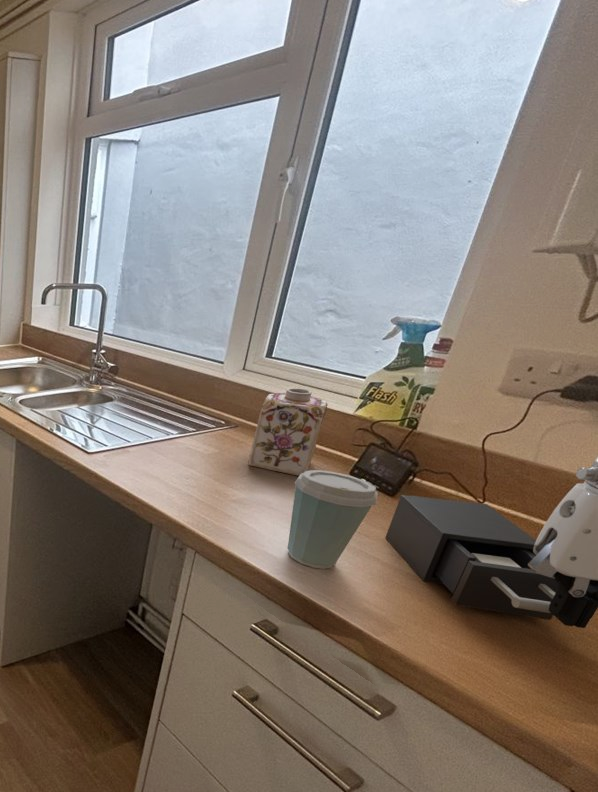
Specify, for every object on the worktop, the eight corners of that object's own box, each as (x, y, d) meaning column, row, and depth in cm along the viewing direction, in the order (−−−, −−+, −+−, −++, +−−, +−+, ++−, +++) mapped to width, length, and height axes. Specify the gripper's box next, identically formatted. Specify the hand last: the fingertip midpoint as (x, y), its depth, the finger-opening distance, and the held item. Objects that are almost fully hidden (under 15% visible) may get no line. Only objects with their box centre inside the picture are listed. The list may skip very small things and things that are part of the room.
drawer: (585, 651, 66) (611, 607, 64) (481, 633, 70) (502, 591, 67) (494, 570, 83) (512, 532, 80) (413, 558, 86) (428, 522, 83)
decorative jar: (311, 462, 125) (333, 388, 118) (306, 478, 117) (329, 400, 110) (254, 450, 132) (271, 381, 125) (245, 465, 124) (263, 391, 117)
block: (516, 600, 74) (497, 582, 78) (530, 574, 72) (509, 557, 76) (477, 594, 75) (460, 577, 79) (489, 569, 74) (471, 552, 78)
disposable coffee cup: (272, 536, 95) (294, 460, 89) (346, 551, 90) (373, 471, 84) (277, 567, 86) (302, 484, 80) (359, 584, 81) (391, 498, 75)
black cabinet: (519, 595, 78) (544, 546, 75) (423, 580, 82) (443, 533, 79) (467, 548, 90) (487, 504, 87) (385, 537, 94) (401, 494, 90)
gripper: (577, 488, 56) (506, 626, 63) (780, 508, 51) (679, 654, 58) (529, 462, 62) (469, 589, 69) (705, 478, 58) (622, 612, 65)
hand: (565, 619), depth 64 cm, fingers closed
